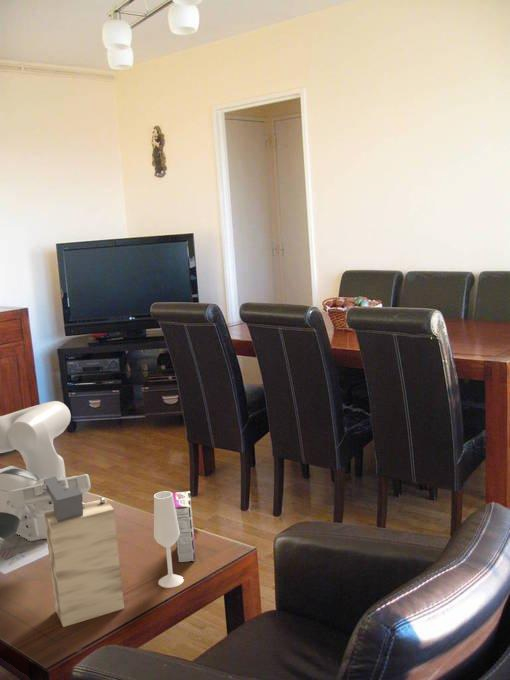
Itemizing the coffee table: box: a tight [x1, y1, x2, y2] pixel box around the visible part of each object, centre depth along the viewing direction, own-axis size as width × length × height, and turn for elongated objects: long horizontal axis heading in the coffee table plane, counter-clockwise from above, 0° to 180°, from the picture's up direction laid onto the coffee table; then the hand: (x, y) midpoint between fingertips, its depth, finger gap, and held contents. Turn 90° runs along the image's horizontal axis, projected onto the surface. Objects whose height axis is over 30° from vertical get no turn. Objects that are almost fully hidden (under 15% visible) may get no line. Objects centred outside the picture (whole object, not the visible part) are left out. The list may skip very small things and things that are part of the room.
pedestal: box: [44, 496, 125, 628], centre depth 180 cm, size 8×15×27 cm, turn 117°
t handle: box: [44, 476, 84, 522], centre depth 179 cm, size 16×6×6 cm, turn 31°
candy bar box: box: [173, 490, 196, 563], centre depth 207 cm, size 11×5×16 cm, turn 5°
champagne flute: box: [153, 490, 185, 589], centre depth 192 cm, size 7×7×24 cm
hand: (53, 484), depth 183 cm, fingers closed on t handle, 3 cm apart
